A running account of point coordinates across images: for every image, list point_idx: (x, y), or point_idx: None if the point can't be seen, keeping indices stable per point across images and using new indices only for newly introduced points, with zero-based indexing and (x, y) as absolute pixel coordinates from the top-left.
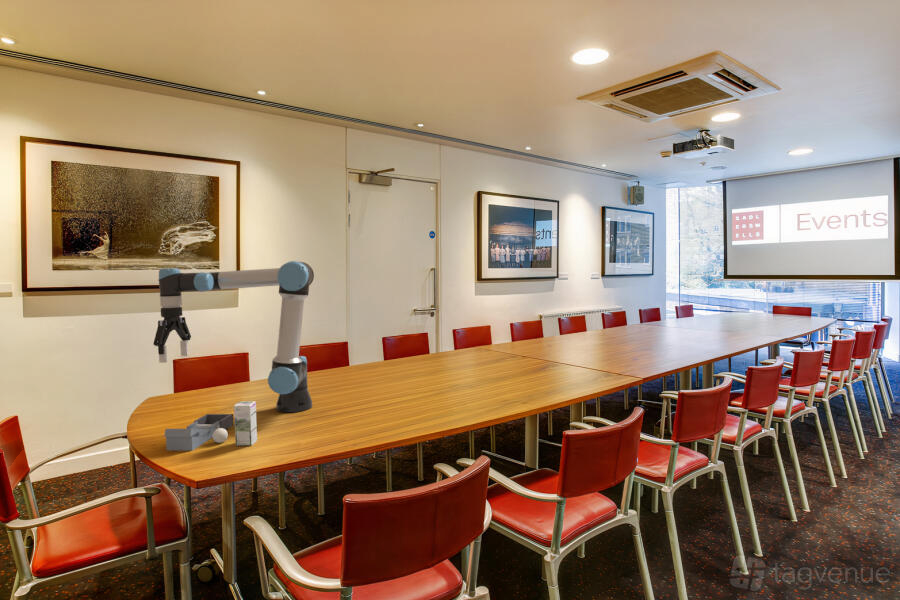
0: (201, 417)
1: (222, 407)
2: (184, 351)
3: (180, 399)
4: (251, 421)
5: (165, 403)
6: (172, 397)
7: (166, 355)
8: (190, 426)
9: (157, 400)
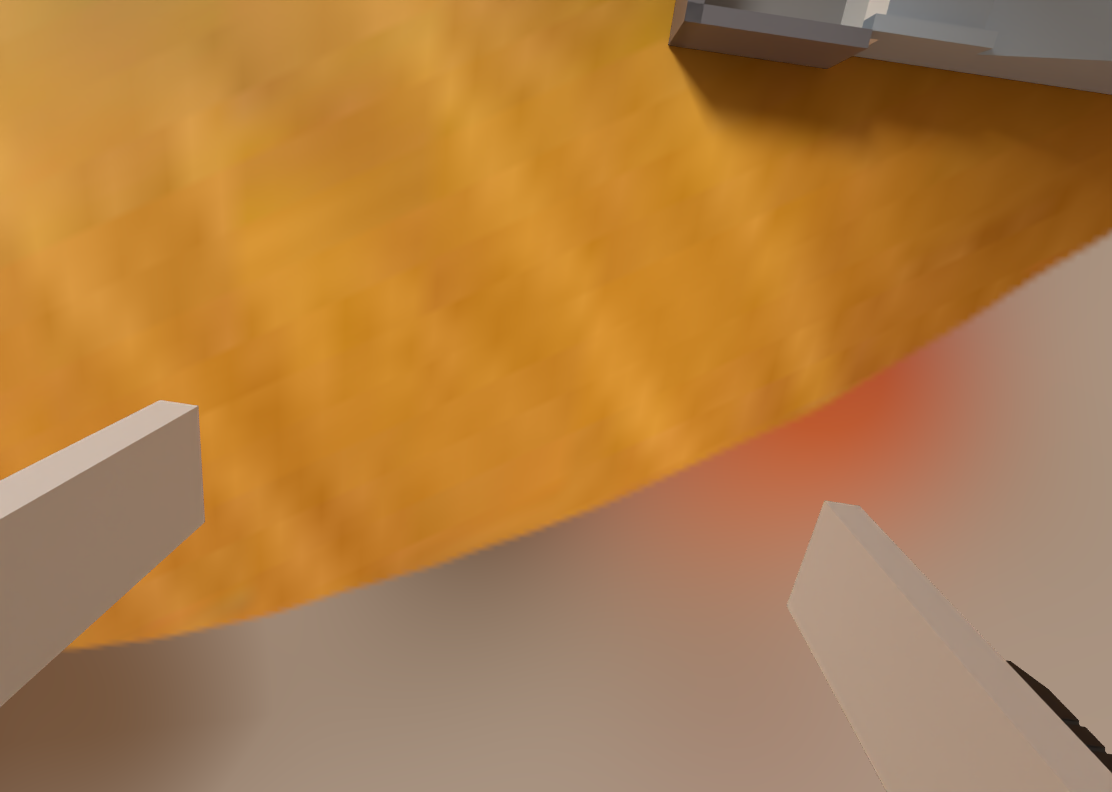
0: (778, 24)
1: (222, 116)
2: (129, 504)
3: None
4: None
5: None
6: None
7: (906, 585)
8: (966, 30)
9: None
